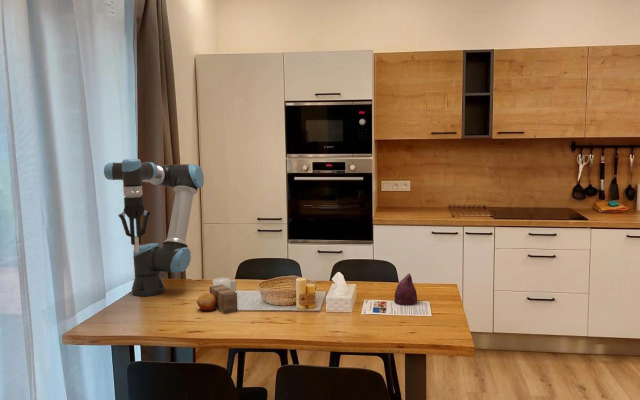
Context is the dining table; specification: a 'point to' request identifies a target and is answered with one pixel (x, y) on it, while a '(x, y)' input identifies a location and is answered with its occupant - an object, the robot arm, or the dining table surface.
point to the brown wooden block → (224, 298)
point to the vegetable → (405, 292)
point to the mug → (225, 282)
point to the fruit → (207, 302)
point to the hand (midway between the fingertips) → (136, 251)
